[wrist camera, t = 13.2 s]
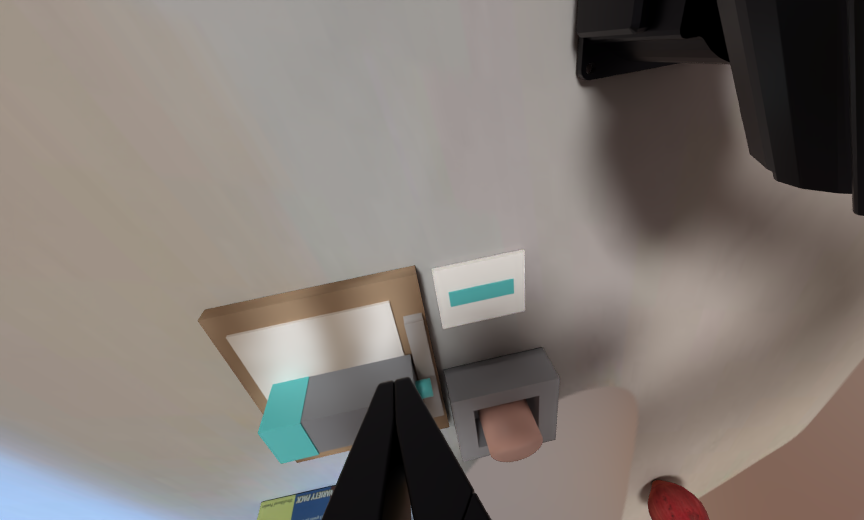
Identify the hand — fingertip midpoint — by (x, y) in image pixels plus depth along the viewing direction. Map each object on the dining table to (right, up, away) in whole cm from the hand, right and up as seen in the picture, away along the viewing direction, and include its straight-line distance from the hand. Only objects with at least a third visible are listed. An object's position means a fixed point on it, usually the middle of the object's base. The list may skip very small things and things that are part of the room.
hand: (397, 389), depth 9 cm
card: (+4, +1, +14) cm, 15 cm away
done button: (+6, -8, +19) cm, 22 cm away
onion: (+29, -24, +34) cm, 51 cm away
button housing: (+6, -8, +20) cm, 22 cm away
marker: (-5, -5, +15) cm, 17 cm away
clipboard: (-5, -5, +16) cm, 18 cm away
